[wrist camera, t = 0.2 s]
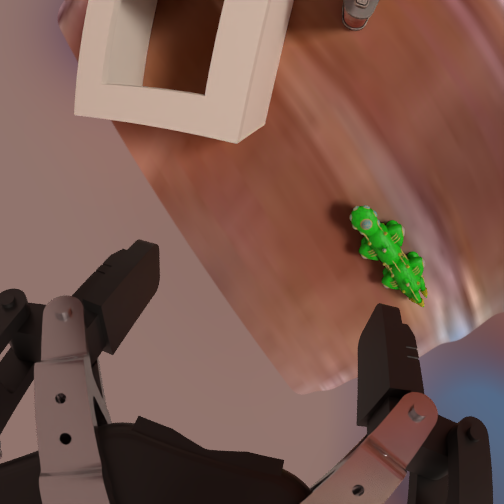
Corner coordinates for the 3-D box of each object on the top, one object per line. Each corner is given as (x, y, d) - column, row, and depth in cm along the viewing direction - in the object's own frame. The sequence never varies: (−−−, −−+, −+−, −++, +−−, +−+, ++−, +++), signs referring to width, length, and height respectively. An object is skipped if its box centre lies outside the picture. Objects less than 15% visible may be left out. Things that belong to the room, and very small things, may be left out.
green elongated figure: (374, 183, 36) (379, 195, 33) (438, 282, 41) (445, 301, 37) (332, 212, 40) (332, 227, 36) (401, 304, 44) (405, 323, 40)
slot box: (156, -23, 28) (100, -44, 18) (297, -14, 26) (281, -53, 16) (134, 100, 37) (74, 115, 27) (264, 124, 36) (236, 143, 26)
